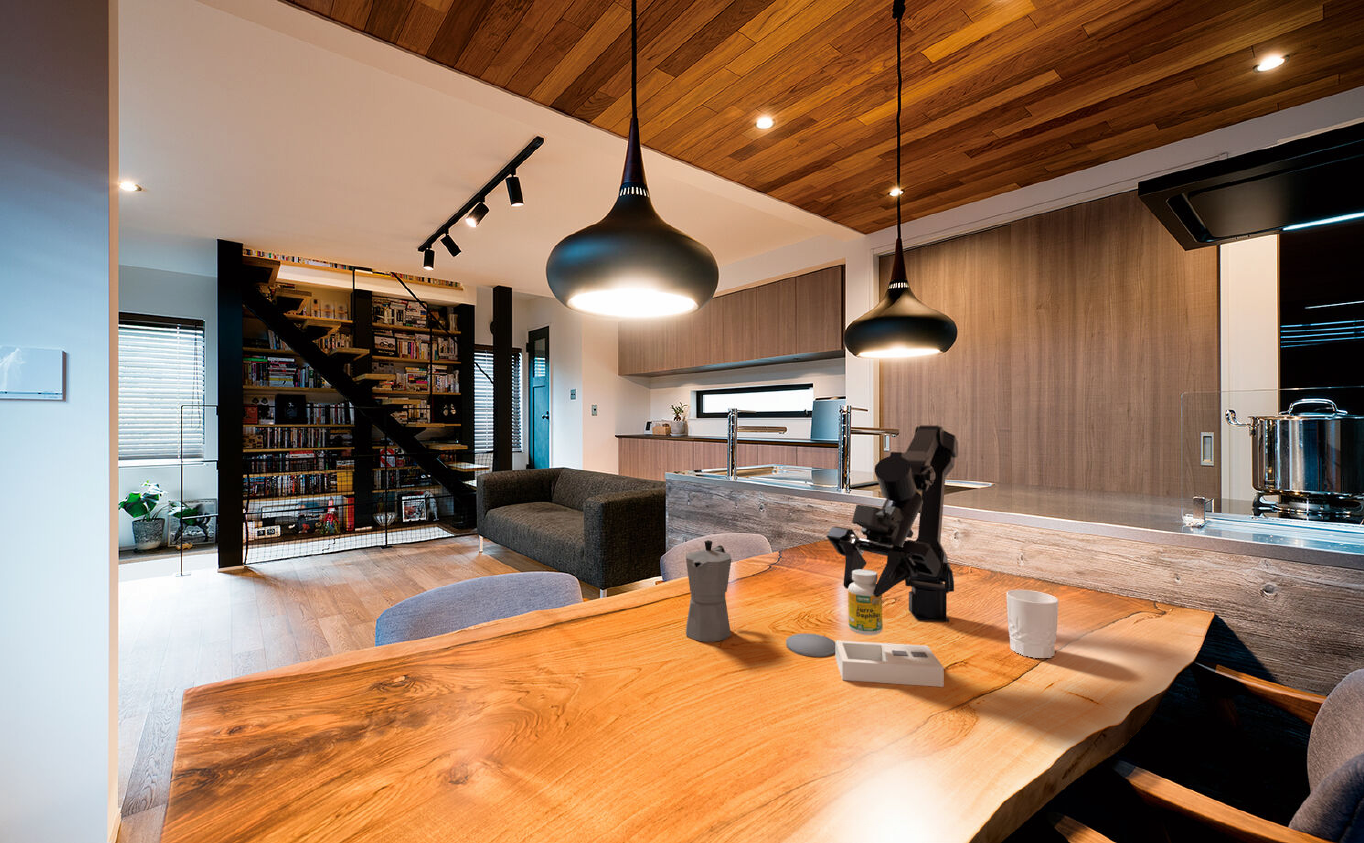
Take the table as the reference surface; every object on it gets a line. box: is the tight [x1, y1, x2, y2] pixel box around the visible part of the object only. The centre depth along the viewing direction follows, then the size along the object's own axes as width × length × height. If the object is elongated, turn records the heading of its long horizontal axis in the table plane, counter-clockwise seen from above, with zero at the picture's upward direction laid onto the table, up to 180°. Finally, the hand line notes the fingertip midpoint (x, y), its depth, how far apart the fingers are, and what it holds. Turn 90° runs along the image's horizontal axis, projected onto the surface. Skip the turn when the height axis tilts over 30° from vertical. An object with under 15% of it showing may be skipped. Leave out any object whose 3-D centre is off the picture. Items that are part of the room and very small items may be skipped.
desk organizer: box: [834, 639, 945, 688], centre depth 91 cm, size 15×8×3 cm, turn 82°
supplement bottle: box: [847, 568, 884, 636], centre depth 92 cm, size 5×5×10 cm
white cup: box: [1005, 589, 1059, 659], centre depth 99 cm, size 8×8×10 cm
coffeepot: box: [685, 540, 732, 643], centre depth 108 cm, size 15×9×18 cm, turn 157°
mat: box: [785, 633, 835, 658], centre depth 101 cm, size 9×9×1 cm
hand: (859, 591), depth 91 cm, fingers closed on supplement bottle, 5 cm apart
